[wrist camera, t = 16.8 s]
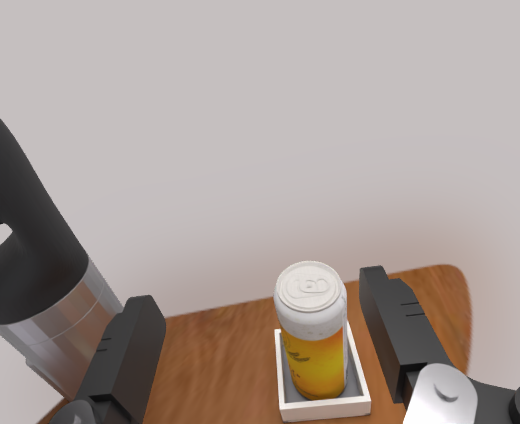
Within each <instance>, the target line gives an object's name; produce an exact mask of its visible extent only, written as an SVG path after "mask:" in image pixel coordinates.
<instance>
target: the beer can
mask: <svg viewBox="0 0 520 424" xmlns="http://www.w3.org/2000/svg"><path fill="white" fill-rule="evenodd" d="M274 303H275V307H276V312H277V316H278V321H279V325H280V329H281V334H282V338H283V343H284V347H285V352H286V356H287V360H288V365H289V369H290V374H291V378H292V381H293V384H294V386H295V387H296V389H297V390H298V391H299V392H300V393H301V394H302V395H303V396H305V397H306V398H308V399H310V400H313V401H316V400H326V399H334V398H336V397H337V396H338V395H339V394H341V392H342V391H343V390H344V388H345V386H346V383H347V379H348V354H347V294H346V288H345V286H344V284H343V282H342V281H341V279H340V278H339V276H338V274H337V273H336V271H335V270H333V269H332V268H331V267H330V266H328V265H326V264H323V263H320V262H316V261H303V262H298V263H296V264H293V265H291V266H289V267H287V268H286V269H285V270H284V271H283V272H282V273H281V274H280V276H279V278H278V280H277V284H276V287H275V289H274Z"/></svg>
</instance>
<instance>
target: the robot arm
mask: <svg viewBox="0 0 520 424" xmlns="http://www.w3.org/2000/svg"><path fill="white" fill-rule="evenodd" d="M3 223H5V224H7V225H8V226H9V227H10V228H11V229H12V231H13V232H12V234H11V235H10V236H9V237H8V238H7V239H6V240H5V241H4V242H3V243H2V244H1V245H0V336H2V337H3V338H4V339H5V340H6V341H8V342H9V343H10V344H11V345H12V346H13V347H14V348H15V349H17V350H18V351H19V352H20V353H21V354H22V355H23V356H25V357H26V364H27V365H28V366H29V367H30V368H31V369H32V370H33V371H34V372H36V373H37V374H38V375H39V376H40V377H41V378H43V379H44V380H45V381H46V382H47V383H48V384H50V385H51V386H52V387H53V388H54V389H55V390H57V391H58V392H59V393H60V394H61V395H62V396H63V397H65V398H66V399H67V400H68V401H69V402H70V403H68V404H67V405H65V406H64V407H62V408H61V409H60V410H59V411H58V412H57V413H56V414H55V415H54V416H53V417H52V419H51V420H50V422H49V423H48V424H142V422H143V418H144V414H145V410H146V406H147V403H148V399H149V395H150V391H151V387H152V383H153V380H154V376H155V372H156V368H157V364H158V360H159V357H160V353H161V349H162V345H163V341H164V337H165V333H166V322H165V319H164V316H163V315H162V313H161V311H160V309H159V308H158V306H157V304H156V302H155V301H154V299H153V297H152V296H151V295H145V296H137V297H130V298H129V299H128V300H127V302H126V304H125V307H123V306H122V304H121V303H120V301H119V300H118V298H117V297H116V296H115V294H114V293H113V291H112V290H111V288H110V287H109V285H108V284H107V282H106V281H105V279H104V278H103V276H102V275H101V273H100V272H99V271H98V269H97V267H96V266H95V265H94V263H93V262H92V260H91V259H90V257H89V256H88V254H87V253H86V251H85V250H84V249H83V247H82V246H81V244H80V243H79V241H78V240H77V238H76V237H75V235H74V234H73V232H72V231H71V229H70V227H69V226H68V224H67V223H66V221H65V220H64V218H63V217H62V215H61V214H60V212H59V211H58V209H57V208H56V206H55V205H54V203H53V201H52V200H51V198H50V196H49V195H48V193H47V191H46V190H45V188H44V186H43V185H42V183H41V181H40V179H39V178H38V176H37V174H36V173H35V171H34V169H33V167H32V166H31V164H30V162H29V160H28V159H27V157H26V155H25V153H24V152H23V150H22V149H21V147H20V145H19V144H18V142H17V141H16V139H15V137H14V136H13V135H12V133H11V132H10V130H9V129H8V128H7V126H6V125H5V124H4V123H3V121H2V120H1V119H0V224H3ZM359 299H360V304H361V309H362V312H363V315H364V318H365V321H366V324H367V327H368V330H369V333H370V336H371V338H372V341H373V344H374V347H375V350H376V353H377V356H378V359H379V362H380V365H381V368H382V371H383V374H384V377H385V380H386V383H387V385H388V388H389V391H390V394H391V397H392V400H393V403H394V404H395V403H404V406H405V409H406V412H407V413H406V417H405V420H404V423H403V424H520V387H519V388H518V389H517V391H515V390H511V389H506V388H501V387H497V386H492V385H488V384H484V383H480V382H477V381H475V380H473V379H471V378H469V377H467V376H466V375H464V374H463V373H462V372H460V371H459V370H458V369H457V368H456V367H455V366H454V365H453V364H452V362H451V361H450V359H449V358H448V356H447V354H446V352H445V350H444V349H443V347H442V345H441V343H440V341H439V339H438V337H437V335H436V334H435V332H434V330H433V328H432V326H431V324H430V322H429V320H428V319H427V317H426V316H425V313H424V311H423V309H422V307H421V305H419V302H418V300H417V298H416V296H415V294H414V292H413V290H412V289H411V288H410V287H409V286H408V285H407V284H406V283H404V282H403V281H402V280H401V279H400V278H398V279H390V280H389V279H388V277H387V274H386V272H385V270H384V268H383V267H382V266H372V267H365V268H361V269H360V278H359Z"/></svg>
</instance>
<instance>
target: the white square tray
mask: <svg viewBox="0 0 520 424" xmlns="http://www.w3.org/2000/svg"><path fill="white" fill-rule="evenodd" d="M275 342H276V358H277V374H278V391H279V407H280V412H281V416H282V419H283V422H284V423H285V422H296V421H307V420H318V419H330V418H341V417H352V416H363V415H370V410H371V399H370V395H369V392H368V388H367V385H366V381H365V378H364V374H363V371H362V367H361V364H360V360H359V357H358V354H357V350H356V347H355V343H354V340H353V336H352V333H351V329H350V326H349V322H348V321H347V354H348V379H347V383H346V386H345V388H344V390H343V391H342V392H341V394H339V395H338V396H337V397H336V398H334V399H326V400H316V401H313V400H310V399H308V398H306V397H305V396H303V395H302V394H301V393H300V392H299V391H298V390H297V389H296V387H295V386H294V384H293V381H292V378H291V374H290V369H289V365H288V360H287V356H286V352H285V347H284V343H283V338H282V334H281V329H276V330H275Z"/></svg>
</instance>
